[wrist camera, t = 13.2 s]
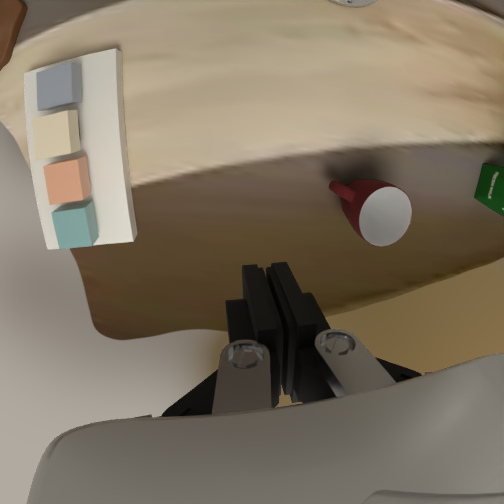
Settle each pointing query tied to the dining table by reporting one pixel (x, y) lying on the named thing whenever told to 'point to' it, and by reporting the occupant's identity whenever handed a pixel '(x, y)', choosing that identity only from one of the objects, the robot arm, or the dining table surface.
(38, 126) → the key
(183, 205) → the dining table surface
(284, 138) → the dining table surface
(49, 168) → the key
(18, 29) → the plant
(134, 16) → the dining table surface
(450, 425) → the robot arm
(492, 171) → the milk carton
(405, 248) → the dining table surface
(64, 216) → the key
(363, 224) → the mug
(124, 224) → the keypad base
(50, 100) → the key
